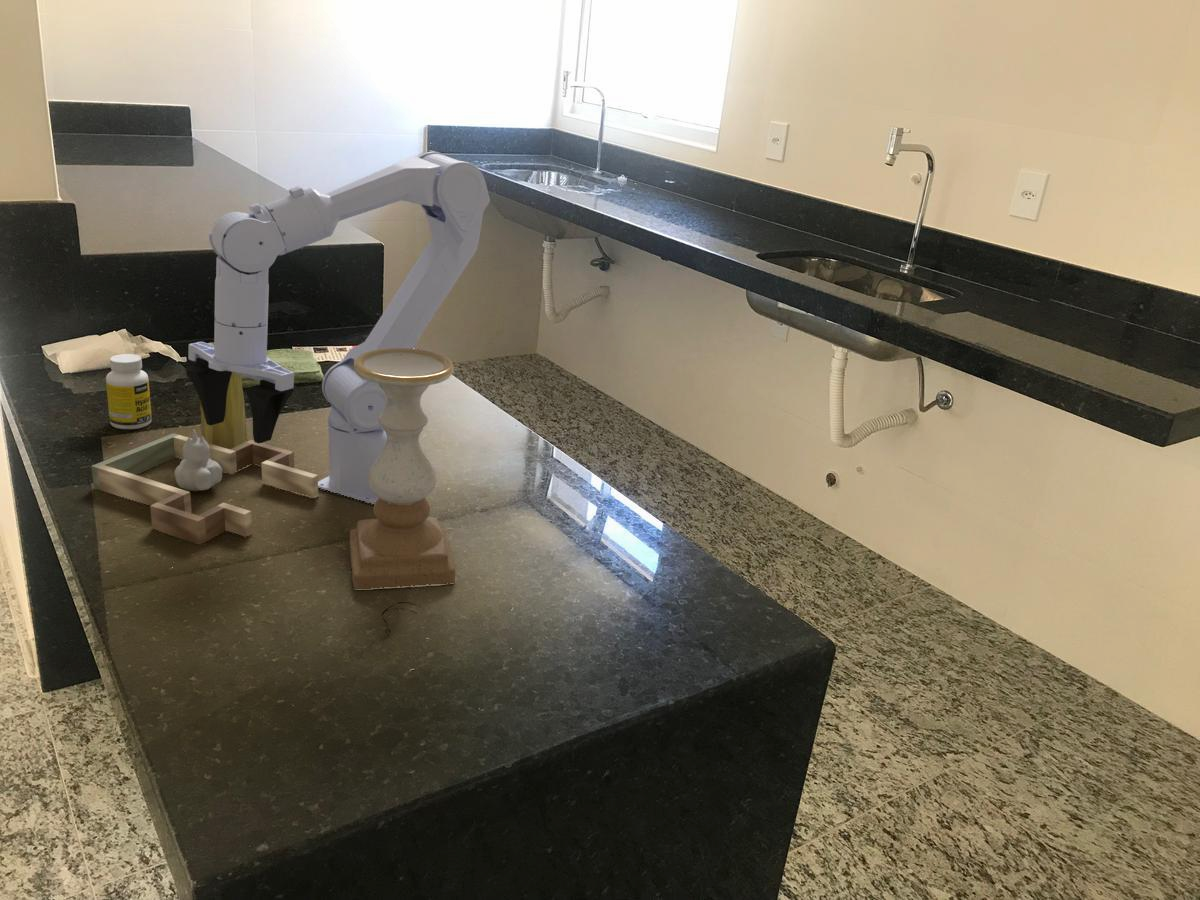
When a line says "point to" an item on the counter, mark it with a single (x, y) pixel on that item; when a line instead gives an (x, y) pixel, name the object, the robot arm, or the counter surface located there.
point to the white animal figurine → (197, 466)
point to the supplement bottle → (128, 393)
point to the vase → (228, 418)
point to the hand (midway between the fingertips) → (238, 431)
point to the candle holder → (401, 479)
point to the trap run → (175, 503)
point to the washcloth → (293, 366)
